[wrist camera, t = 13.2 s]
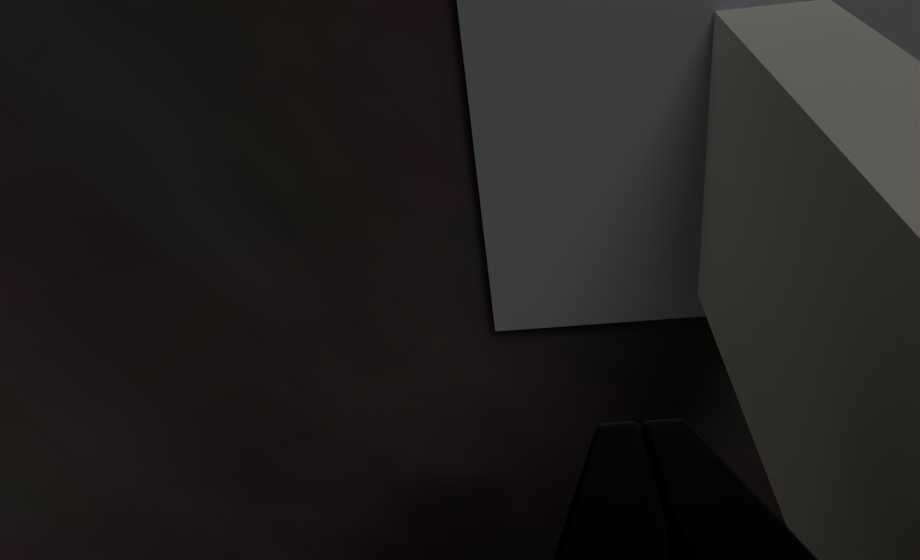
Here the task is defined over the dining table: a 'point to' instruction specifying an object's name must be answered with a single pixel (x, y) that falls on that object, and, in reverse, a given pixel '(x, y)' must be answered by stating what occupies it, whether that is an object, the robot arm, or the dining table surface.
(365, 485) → the dining table surface
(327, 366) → the dining table surface
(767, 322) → the domino
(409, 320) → the dining table surface
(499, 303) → the mat
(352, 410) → the dining table surface
